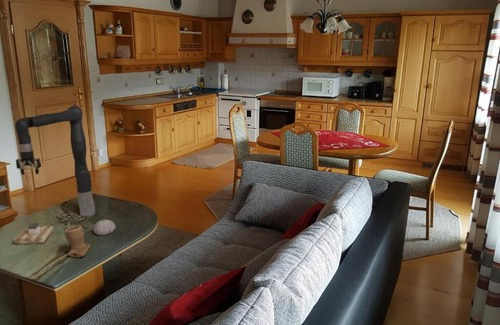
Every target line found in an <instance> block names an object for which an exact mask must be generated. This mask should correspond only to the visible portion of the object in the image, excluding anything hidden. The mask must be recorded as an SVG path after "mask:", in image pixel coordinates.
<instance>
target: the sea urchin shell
mask: <svg viewBox="0 0 500 325" xmlns="http://www.w3.org/2000/svg"><path fill="white" fill-rule="evenodd" d="M115 229H116V224H115V223H114V222H113V221H112V220H109V219H104V218H103V219H101V220H99V221H97V222H96V223H95V224H94V226H93V232H94V234H96V235H98V236H105V235H108V234H112V233H113V232H114V231H116V230H115Z"/></svg>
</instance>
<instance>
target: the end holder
mask: <svg viewBox="0 0 500 325" xmlns="http://www.w3.org/2000/svg"><path fill="white" fill-rule="evenodd" d="M39 227H40V233H39V234H38V235H29V230H28V226H26V227H25V228H24V229H23V230H22V231H21V232H20V233H19V234H18V235H17V236H15V237H14V244H15V246H20V245H21V246H26V245H29V246H30V245H44V244H45V243H46V242H47V241H48V239H49V238H50V237H51V236H52V235H53V234H54V233H55V231H54V226H51V225H50V226H39Z"/></svg>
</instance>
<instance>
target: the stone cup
mask: <svg viewBox="0 0 500 325" xmlns="http://www.w3.org/2000/svg"><path fill="white" fill-rule="evenodd" d="M64 235H65V236H64V237H65V239H66V240H67V243H68V244H69V246H70V250H69V251H68V253H67V256H69V257H70V258H75V257H76V259H77V258H81V257H83V256H85V255H86V253H87V252H88V250H90V249H89V248H90V247H91V244H90V243H85V232H84V229H83V226H81V225H80V224H79V225H73V226H70V227H68V228H66V229H65V230H64Z"/></svg>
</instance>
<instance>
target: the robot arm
mask: <svg viewBox="0 0 500 325" xmlns="http://www.w3.org/2000/svg"><path fill="white" fill-rule="evenodd" d="M62 122H63V123H65V122H69V124H70V125H69V126H70V147H71V148H70V149H71V153H72V157H73V161H74V177H75V181H76V193H77V199H78V207H79V214H80V216H81V217H90V216H94V215H95V213H96V207H95V200H94V198H93V197H94V196H93V190H92V189H93V188H92V177H91V172H90V171H89V169H88V164H87V142H86V136H85V131H84V128H83V110H82V108H80V107H79V106H78V105H70V106H69V107H68V108H67V109H66V110H62V111H59V112H54V113H44V114H38V115H34V116H29V117H27V116H26V117H22V118H18V119H17V120H16V122H15V124H14V126H15V131H16V134H17V141H18V150H19V155H20V158H17V159H16V160H15V164H16V169H17V170H19V169H20V175H22V176H25V174H26V173H25V172H26V171H25V166H26V167H27V166H29V167H33V168H34V170H35V175H39V173H40V168H41V167H42V163H41V159H40V157H38V158H35V155H34V148H33V143H32V138H31V135H30V131H29V128H39V127H44V126H48V125H53V124H57V123H62ZM21 163H22V164H21Z"/></svg>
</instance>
